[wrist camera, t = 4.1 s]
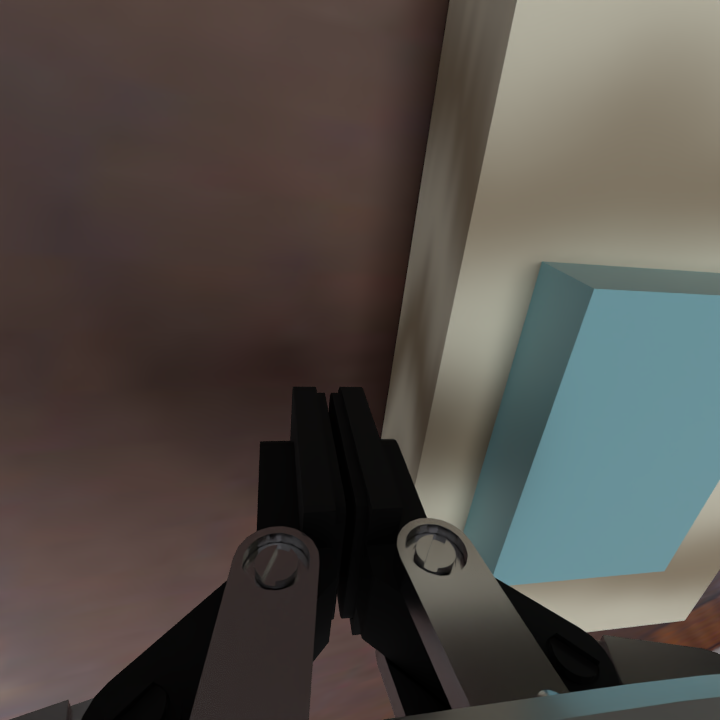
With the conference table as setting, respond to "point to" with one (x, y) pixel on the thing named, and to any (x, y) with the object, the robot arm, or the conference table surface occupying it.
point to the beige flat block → (552, 233)
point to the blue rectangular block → (603, 426)
